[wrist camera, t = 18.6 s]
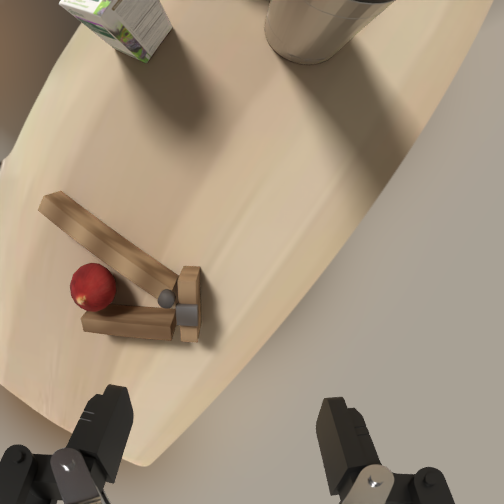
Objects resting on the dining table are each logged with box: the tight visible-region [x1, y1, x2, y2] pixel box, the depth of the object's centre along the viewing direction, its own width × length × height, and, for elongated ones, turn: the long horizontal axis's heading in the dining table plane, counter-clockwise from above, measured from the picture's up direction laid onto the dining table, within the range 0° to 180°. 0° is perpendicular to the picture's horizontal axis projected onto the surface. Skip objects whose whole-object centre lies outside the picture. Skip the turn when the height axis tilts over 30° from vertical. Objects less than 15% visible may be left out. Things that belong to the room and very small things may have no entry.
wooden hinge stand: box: [81, 266, 201, 342], centre depth 36 cm, size 8×15×5 cm, turn 87°
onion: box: [70, 263, 116, 312], centre depth 33 cm, size 6×6×8 cm
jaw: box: [38, 191, 178, 309], centre depth 33 cm, size 20×2×5 cm, turn 53°
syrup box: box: [59, 0, 172, 63], centre depth 21 cm, size 6×6×14 cm
